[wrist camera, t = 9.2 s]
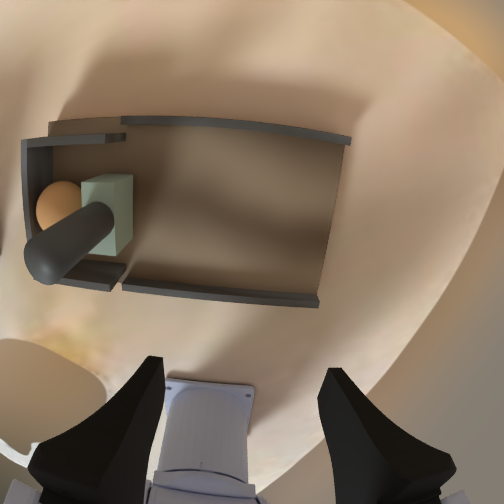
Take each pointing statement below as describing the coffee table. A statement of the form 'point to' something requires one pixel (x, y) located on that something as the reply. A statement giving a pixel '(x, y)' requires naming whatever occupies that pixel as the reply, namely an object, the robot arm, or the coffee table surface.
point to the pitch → (200, 204)
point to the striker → (85, 229)
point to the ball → (58, 203)
